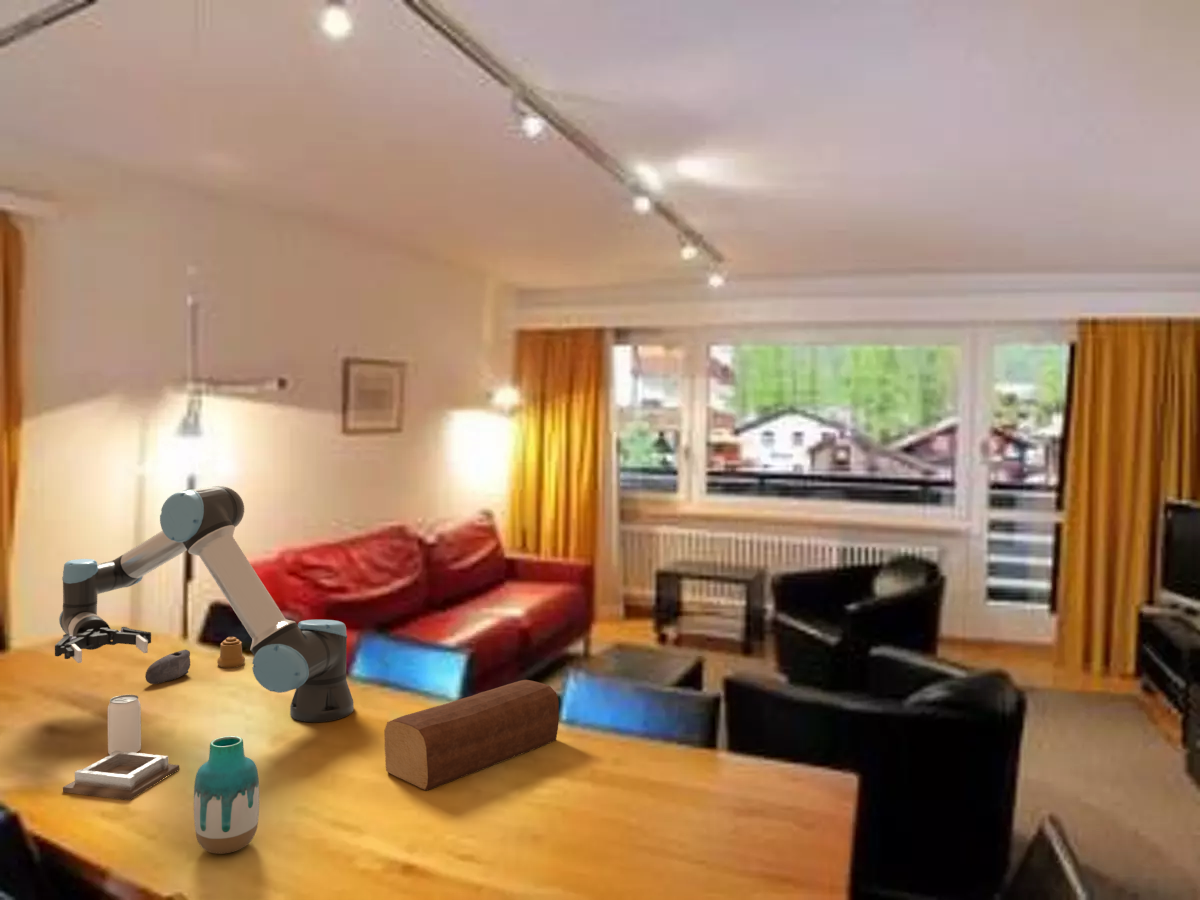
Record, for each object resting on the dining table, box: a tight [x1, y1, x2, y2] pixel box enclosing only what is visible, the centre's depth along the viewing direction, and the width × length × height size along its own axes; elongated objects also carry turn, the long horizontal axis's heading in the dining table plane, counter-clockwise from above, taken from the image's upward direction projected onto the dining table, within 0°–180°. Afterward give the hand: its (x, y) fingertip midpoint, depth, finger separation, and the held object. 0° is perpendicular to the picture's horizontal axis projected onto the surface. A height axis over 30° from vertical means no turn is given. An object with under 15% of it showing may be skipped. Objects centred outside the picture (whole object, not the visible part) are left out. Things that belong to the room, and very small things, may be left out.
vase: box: [193, 735, 260, 855], centre depth 161 cm, size 11×11×19 cm
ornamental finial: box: [216, 636, 246, 669], centre depth 269 cm, size 8×8×8 cm
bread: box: [383, 679, 560, 791], centre depth 205 cm, size 16×39×13 cm, turn 139°
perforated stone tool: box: [145, 649, 191, 685], centre depth 254 cm, size 15×5×7 cm, turn 157°
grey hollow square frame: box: [74, 751, 169, 791], centre depth 189 cm, size 13×11×2 cm
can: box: [107, 694, 142, 755], centre depth 203 cm, size 6×6×12 cm
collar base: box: [62, 763, 180, 801], centre depth 189 cm, size 15×15×1 cm
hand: (113, 651), depth 209 cm, fingers open, 13 cm apart
